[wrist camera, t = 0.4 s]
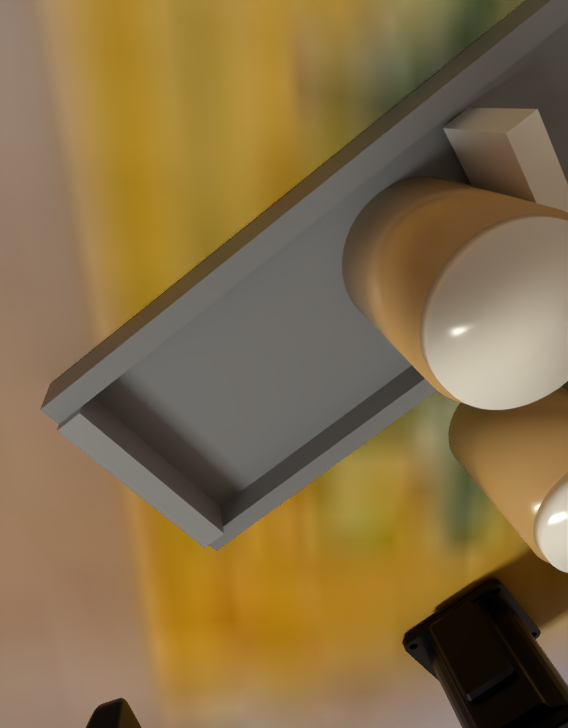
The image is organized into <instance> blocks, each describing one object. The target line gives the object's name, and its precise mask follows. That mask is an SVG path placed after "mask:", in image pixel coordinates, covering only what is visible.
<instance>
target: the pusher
mask: <svg viewBox="0 0 568 728" xmlns="http://www.w3.org/2000/svg"><path fill="white" fill-rule="evenodd" d="M443 129H444V131H445V133H446V135H447V137H448V139H449V141H450V143H451V145H452V147H453V149H454V151H455V153H456V155H457V157H458V159H459V161H460V163H461V165H462V167H463V169H464V171H465V173H466V175H467V177H468V179H469V181H470V183H471V185H472V186H474V187H478V188H481V189H485V190H489V191H493V192H496V193H500V194H504V195H508V196H511V197H515V198H519V199H523V200H526V201H530V202H534V203H538V204H541V205H545V206H549V207H553V208H557V209H560V210H563V211H565V212H567V213H568V181H566V179H565V176H564V174H563V171H562V169H561V166H560V164H559V161H558V159H557V156H556V154H555V151H554V149H553V146H552V144H551V141H550V138H549V136H548V133H547V131H546V128H545V126H544V123H543V121H542V118H541V116H540V113H539V111H538V109H513V108H467V109H466V110H465V111H463V112H462V113H461V114H460V115H458V116H457V117H456V118H455V119H453V120H452V121H451V122H450V123H448V124H447V125H446V126H444V127H443Z"/></svg>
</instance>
